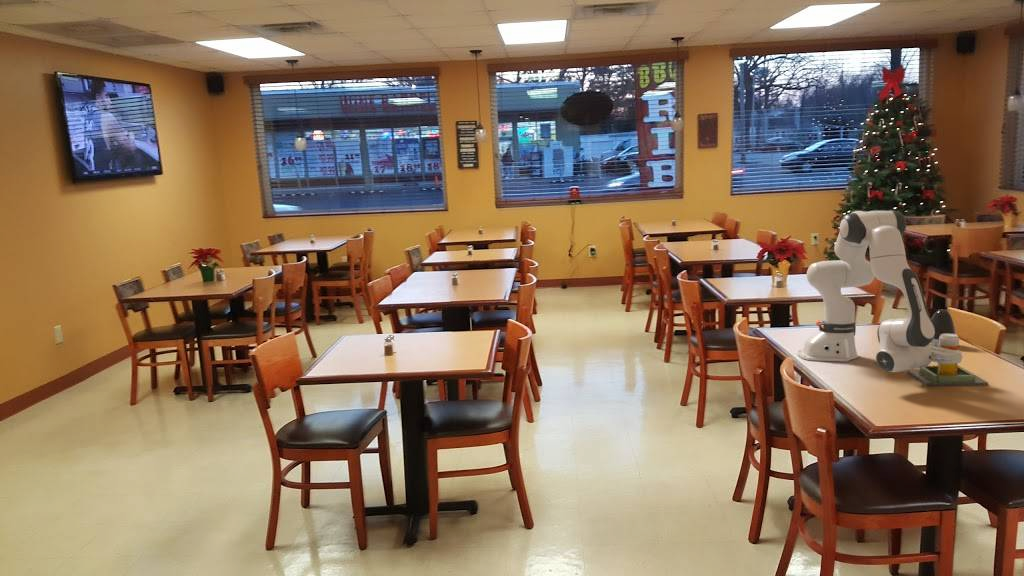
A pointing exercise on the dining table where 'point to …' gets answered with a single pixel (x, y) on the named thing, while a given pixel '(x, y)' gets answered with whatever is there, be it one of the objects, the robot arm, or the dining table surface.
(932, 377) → the green and grey tray
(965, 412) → the dining table surface
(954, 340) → the beer can
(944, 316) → the dark grey egg shape
